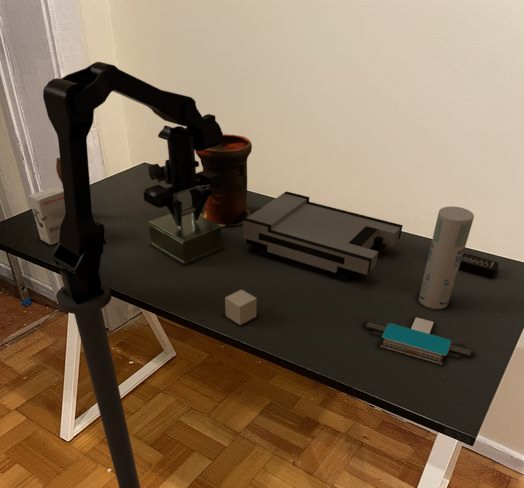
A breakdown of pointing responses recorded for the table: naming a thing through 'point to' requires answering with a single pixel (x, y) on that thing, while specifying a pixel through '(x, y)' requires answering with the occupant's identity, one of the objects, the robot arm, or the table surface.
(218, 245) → the storage tray
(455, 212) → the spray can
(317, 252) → the game console
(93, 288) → the robot arm
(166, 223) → the box lid
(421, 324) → the teal block with rod
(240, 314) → the white block
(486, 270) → the multiport hub
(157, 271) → the table surface
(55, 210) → the ink box
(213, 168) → the vessel
